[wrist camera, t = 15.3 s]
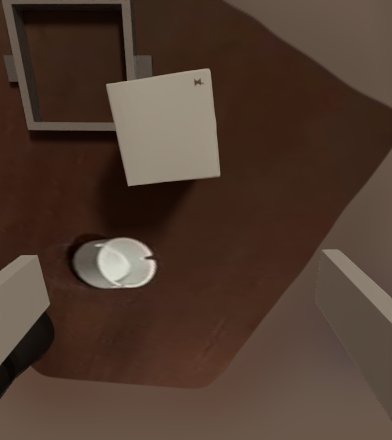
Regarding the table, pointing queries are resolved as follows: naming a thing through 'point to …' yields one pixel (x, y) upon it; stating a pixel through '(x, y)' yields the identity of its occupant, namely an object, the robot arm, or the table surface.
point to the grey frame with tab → (22, 66)
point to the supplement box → (166, 127)
